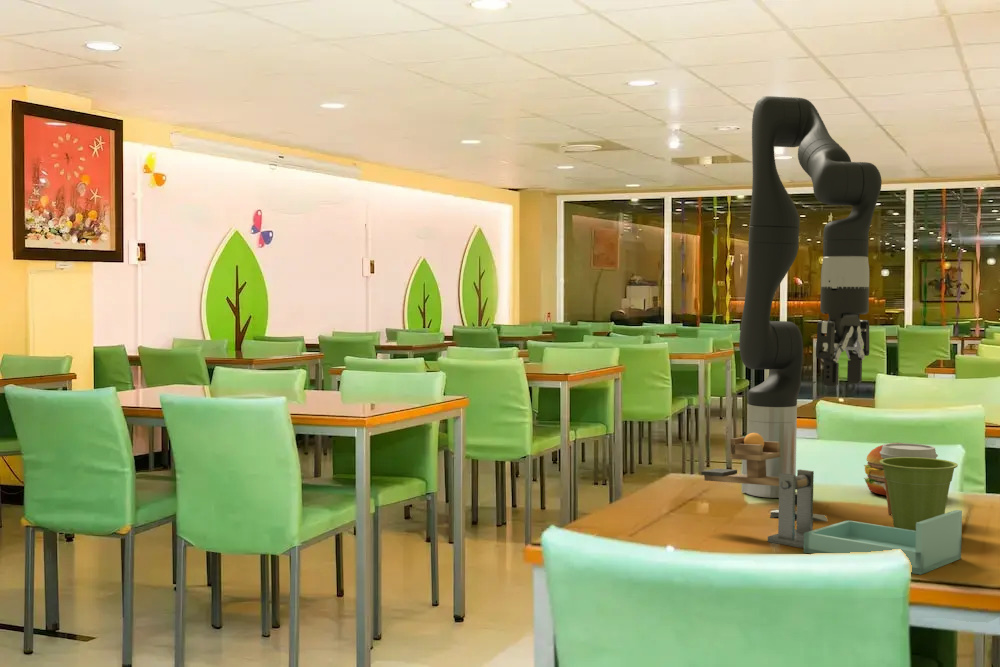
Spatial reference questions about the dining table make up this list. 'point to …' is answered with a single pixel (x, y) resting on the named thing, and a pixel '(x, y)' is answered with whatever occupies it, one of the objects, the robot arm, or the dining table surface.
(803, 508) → the catapult base
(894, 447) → the disposable coffee cup
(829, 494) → the dining table surface
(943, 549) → the tray
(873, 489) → the burger
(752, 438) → the ball
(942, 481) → the plant pot
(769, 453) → the lever
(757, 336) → the robot arm
